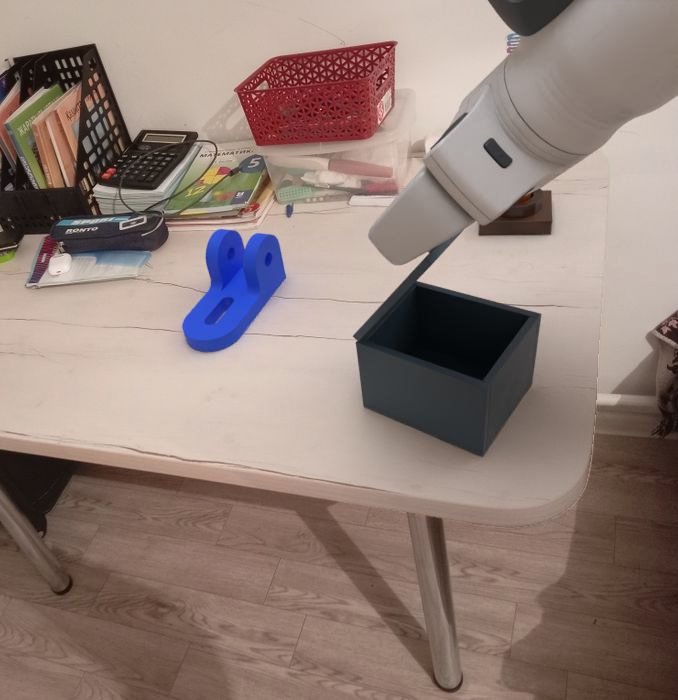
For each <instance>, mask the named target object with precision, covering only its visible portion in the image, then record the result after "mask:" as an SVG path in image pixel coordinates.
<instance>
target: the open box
mask: <svg viewBox="0 0 678 700" xmlns="http://www.w3.org/2000/svg"><path fill="white" fill-rule="evenodd" d="M541 321H542V313H540V312H536V311H532V310H528V309H525V308H522V307H517V306H514V305H509V304H506V303H503V302H498V301H496V300H495V301H494V300H491V299H486V298H483V297H479V296H476V295H471V294H467V293H464V292H461V291H458V290H457V291H456V290H453V289H449V288H446V287H441V286H438V285H434V284H430V283H426V282H422V281H418V280H417V281H416V282H415V283H414V284H413V285H412V286H411V287H410V288H409V289H408V290H407V291H406V292H405V293H404V294H403V295H402V296H401V298H400V299H399V300H398V301H397V302H396V303H395V304H394V305H393V306H392V307H391V308H390V309H389V310H388V311H387V312H386V313H385V314H384V315H383V316H382V317H381V318H380V319H379V320H378V321H377V323H376V324H375V325H374V326H373V327H372V328H371V329H370V330H369V331H368V332H367V333H366V334H365V335H364V336H363V337H362V338H361V339H360V340H359V341H357V340H356V341H355V347H356V356H357V364H358V372H359V373H358V374H359V380H360V382H359V383H360V389H361V390H360V391H361V397H362V405H363V407H364V408H366V409H368V410H371V411H373V412H375V413H377V414H380V415H382V416H385V417H387V418H390V419H392V420H394V421H397V422H399V423H401V424H404V425H406V426H408V427H411V428H413V429H415V430H417V431H420V432H422V433H425V434H427V435H429V436H432V437H434V438H436V439H439V440H441V441H443V442H445V443H448V444H450V445H453V446H455V447H458V448H460V449H461V450H464V451H467V452H469V453H472V454H474V455H476V456H478V457H480V458H484V456H485V454H487V452H488V450H489V448H490V447H491V445H492V444H493V443H494V441H495V440H496V438H497V437H498V435H499V434H500V432H501V431H502V430H503V428H504V427H505V425H506V423H507V422H508V420H509V419H510V417H511V416H512V415H513V413H514V412H515V411H516V408H517V407H518V406H519V404H520V403H521V401H522V400H523V398H524V397H525V395H526V394H527V392H528V391H529V389H530V388H531V386H532V385H533V381H534V372H535V367H536V359H537V352H538V343H539V336H540V330H541V329H540V328H541Z"/></svg>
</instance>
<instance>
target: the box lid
mask: <svg viewBox="0 0 678 700" xmlns="http://www.w3.org/2000/svg"><path fill="white" fill-rule="evenodd" d="M462 233H463V231H461V232H460V233H458V234H456V235H455V236H453V237H452V238H450V239H448V240H447V241H445V242H443V243H442V244H440V245H438V246H436V247H435V248H433V249H431V250H430V251H428V252H427V253H428V254H427V255H426V256H425V257H424V258H423V259H422V260H421V261H420V262H419V263H418V264H417V266H416V267H414V269H413V270H412V271H411V272H410V273H409V274H408V275H407V276H406V277H405V279H404V280H402V282H401V283H400V284H399V285H398V286H397V287H396V288H395V289H394V290H393V292H392V293H390V295H389V296H388V297H387V298H386V299H385V300H384V302H383V303H381V305H380V306H379V307H377V309H376V310H375V311H374V312H373V313H372V314H371V315H370V317H369V318H368V319H367V320H366V321H365V322H364V323H363V324H362V325H361V326H360V327H359V328H358V330H356V332H355V333H354V334H353V335H352V337H353V338H354V339H355V340H356V342H357V341H359V340H360V339H361V338H362V337H363V336H364V335H365V334H366V333H367V332H368V331H369V330H370V329H371V328H372V327H373V326H374V325H375V324H376V323H377V321H378V320H379V319H380V318H381V317H382V316H383V315H384V314H385V313H386V312H387V311H388V310H389V309H390V308H391V307H392V306H393V305H394V304H395V303H396V302H397V301H398V300H399V299H400V298H401V296H402V295H403V294H404V293H405V292H406V291H407V290H408V289H409V288H410V287H411V286H412V285H413V284H414V283H415V282H416V281H418V280H419V279H420V278H421V277H422V276H423V275H424V274H425V273H426V272H427V271H428V270H429V269H430V268H431V267H432V266H433V264H434V263H435V262H436V261H438V259H439V258H440V257H441V255H442V254H444V252H445V251H446V250H447V249H448V248H450V246H451V245H452V243H454V241H455V240H456V239H457V238H458V237H459V236H460V235H461V234H462Z"/></svg>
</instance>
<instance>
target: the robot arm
mask: <svg viewBox="0 0 678 700" xmlns="http://www.w3.org/2000/svg"><path fill="white" fill-rule="evenodd" d="M487 1H488V3H489V4H490V6H491V7H492V8H493V10H494V11H495V13H496V14H497V15H498V17H499V18H500V20H502V22H503V23H504V24H505V25H506V26H507V27H508V28H509V29H510V30H511V31H512V32H513V33H515V34H516V35H518V36H519V43H518V44H517V46H516V47H515V48H514V49H513V50H512V51H511V52H510V53H509V54H508V55H506V57H505V58H504V59H503V60H502V61H500V63H498V64H497V66H496V67H495V68H493V70H492V71H490V72H489V73H488V74H487V75H486V76H485V77H484V78H483V79H482V80H481V81H480V82H479V83H478V84H477V85H476V86H475V87H474V88H473V89H472V90H470V91H469V93H468V94H467V95H466V96H465V97H464V98H463V99H462V101H461V102H460V105H459V107H458V110H457V112H456V113H455V115H454V116H453V118H452V120H451V121H450V124H449V126H448V128H447V129H446V130H445V131H444V132H443V134H442V135H441V136H440V137H439V139H438V140H437V141H436V142H435V143H434V144H433V145H432V146H431V147H430V148H429V151H428V152H427V153H426V154H424V155H423V157H422V163H423V164H424V165H423V166H422V168H421V169H420V170H419V171H418V172H417V173H416V175H415V176H414V177H413V178H412V179H411V180H410V181H409V182H408V183H407V185H406V186H405V187H404V188H403V189H402V190H401V192H400V193H399V194H398V195H397V196H396V197H395V199H393V200H392V202H391V203H390V204H389V205H388V206H387V208H385V210H384V211H383V212H382V213H381V214H380V215H379V217H378V218H376V220H375V221H374V223H373V224H372V225H371V226H370V228H369V230H368V233H367V238H368V240H369V241H370V242H371V244H372V245H373V246H374V248H375V249H376V250H377V251H378V253H380V255H382V256H383V258H384V259H386V261H387V262H389V264H391V265H393V266H403V265H404V266H405V264H408V263H410V262H412V261H413V260H416V259H417V258H419V257H421V256H423V255H424V254H426V253H429V252H428V251H430V250H431V249H433V248H435V247H436V246H438V245H440V244H442V243H443V242H445V241H447V240H448V239H450V238H452V237H453V236H455V235H456V234H458V233H460V232H461V231H462V232H464V230H466V229H467V228H468V227H470V226H471V225H473V224H474V223H475V222H477V223H478V225H479V224H480V225H487V224H489V223H490V222H492V221H493V220H495V219H496V218H498V217H499V216H500V215H502V214H503V213H504V212H506V211H507V210H508V209H510V208H511V207H512V206H513V205H514V204H516V203H517V202H518V201H519V200H520V199H521V198H522V197H524V196H525V195H528V194H530V193H532V192H534V191H536V190H537V189H542V188H543V187H544V186H546V185H548V184H549V183H550V182H552V181H553V180H555V179H557V178H558V177H559V176H561V175H563V174H564V173H565V172H567V171H568V170H570V169H572V168H573V167H574V166H576V165H578V164H579V163H580V162H582V161H584V160H585V159H586V158H588V157H589V156H590V155H592V154H593V153H595V152H597V151H598V150H599V149H601V148H602V147H603V146H605V144H607V142H609V140H611V138H612V137H613V136H614V134H615V133H616V132H618V130H620V129H621V127H623V126H624V125H626V124H627V123H629V122H630V121H632V120H634V119H636V118H639V117H641V116H645V115H647V114H650V113H652V112H654V111H656V110H659V109H661V108H662V107H664V106H665V105H667V104H668V103H670V102H671V101H672V100H674V99H675V98H676V97H678V0H487Z"/></svg>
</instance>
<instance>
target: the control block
mask: <svg viewBox="0 0 678 700" xmlns="http://www.w3.org/2000/svg"><path fill="white" fill-rule="evenodd" d="M552 196H553V194H552V190H551V189H550V190H549V189H545V190H543V189H542V188H540V189H537V190H536V191H534V192H532V193H531V198H530V199H529V200H527V201H524V202H517V203H516V204H514V205H513V206H512V207H511V208H510V209H508V210H507V211H506V212H504V213H503V214H502V215H500V216H499V217H498V218H496V219H495V220H493V221H492V222H490V223H489V224H487V225H480V224H479V223H478V236H528V235H529V236H530V235H531V236H533V235H537V236H538V235H541V236H542V235H551V234H552V226H553V197H552Z"/></svg>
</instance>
